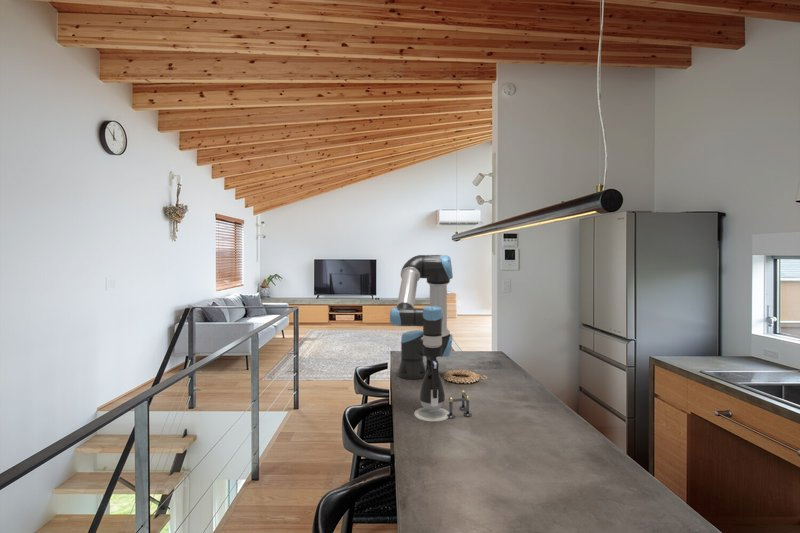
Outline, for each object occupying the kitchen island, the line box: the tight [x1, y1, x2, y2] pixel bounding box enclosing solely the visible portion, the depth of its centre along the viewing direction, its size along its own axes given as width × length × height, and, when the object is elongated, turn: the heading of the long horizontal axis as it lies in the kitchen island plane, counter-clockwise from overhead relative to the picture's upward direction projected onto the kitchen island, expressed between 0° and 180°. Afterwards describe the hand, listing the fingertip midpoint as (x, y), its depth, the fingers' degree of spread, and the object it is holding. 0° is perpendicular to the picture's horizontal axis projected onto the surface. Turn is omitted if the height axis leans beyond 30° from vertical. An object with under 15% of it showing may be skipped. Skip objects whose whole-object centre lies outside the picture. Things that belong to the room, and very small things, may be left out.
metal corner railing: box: [447, 390, 473, 419], centre depth 171 cm, size 11×10×8 cm
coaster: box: [413, 407, 449, 423], centre depth 169 cm, size 14×14×1 cm
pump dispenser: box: [418, 371, 446, 410], centre depth 169 cm, size 10×10×15 cm
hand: (432, 401), depth 169 cm, fingers closed on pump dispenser, 10 cm apart
